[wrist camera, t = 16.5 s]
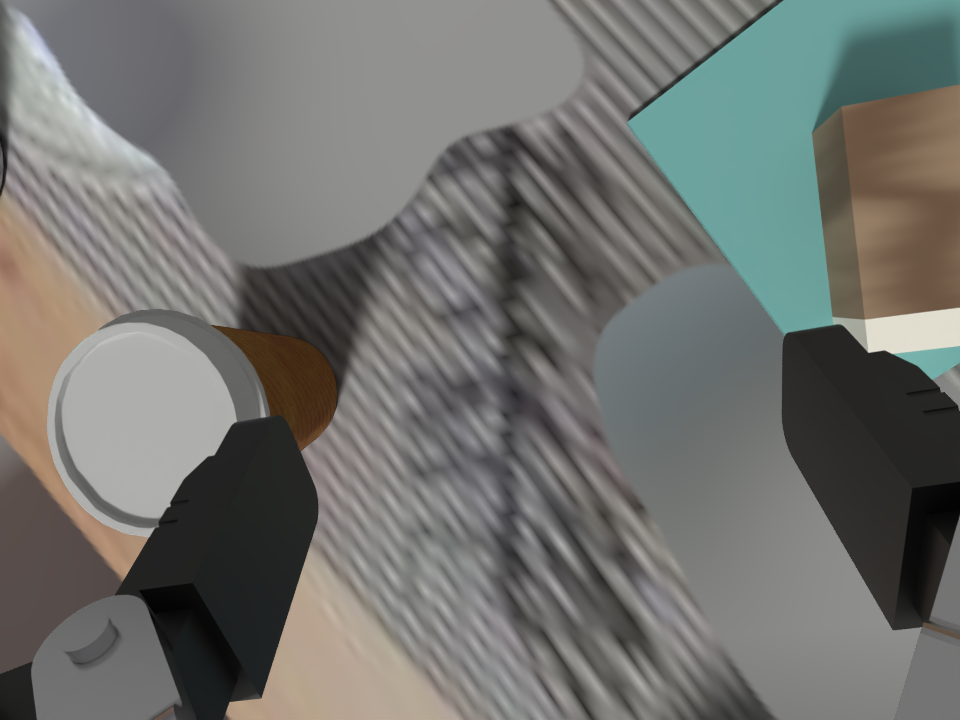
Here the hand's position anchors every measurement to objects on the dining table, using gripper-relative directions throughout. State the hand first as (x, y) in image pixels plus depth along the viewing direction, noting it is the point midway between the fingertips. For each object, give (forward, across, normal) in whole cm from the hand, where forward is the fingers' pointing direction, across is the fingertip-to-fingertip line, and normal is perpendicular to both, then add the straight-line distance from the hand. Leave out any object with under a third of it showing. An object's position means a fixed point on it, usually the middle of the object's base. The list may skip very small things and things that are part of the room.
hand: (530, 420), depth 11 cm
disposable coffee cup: (+23, +15, +12) cm, 30 cm away
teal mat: (+23, -16, +6) cm, 28 cm away
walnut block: (+22, -16, +2) cm, 27 cm away
